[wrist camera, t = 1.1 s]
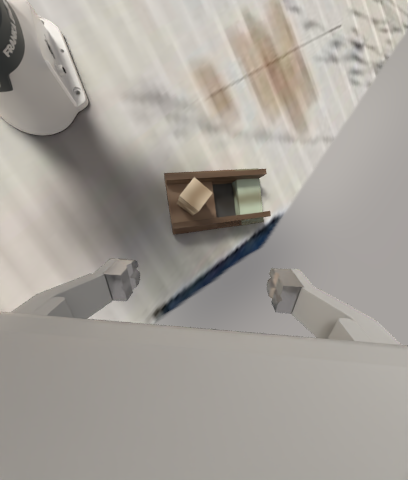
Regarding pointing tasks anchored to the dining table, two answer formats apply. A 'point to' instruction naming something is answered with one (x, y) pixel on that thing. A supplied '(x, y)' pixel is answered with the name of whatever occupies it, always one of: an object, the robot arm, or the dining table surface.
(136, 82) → the dining table surface
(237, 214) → the channel deck
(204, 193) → the beech block
